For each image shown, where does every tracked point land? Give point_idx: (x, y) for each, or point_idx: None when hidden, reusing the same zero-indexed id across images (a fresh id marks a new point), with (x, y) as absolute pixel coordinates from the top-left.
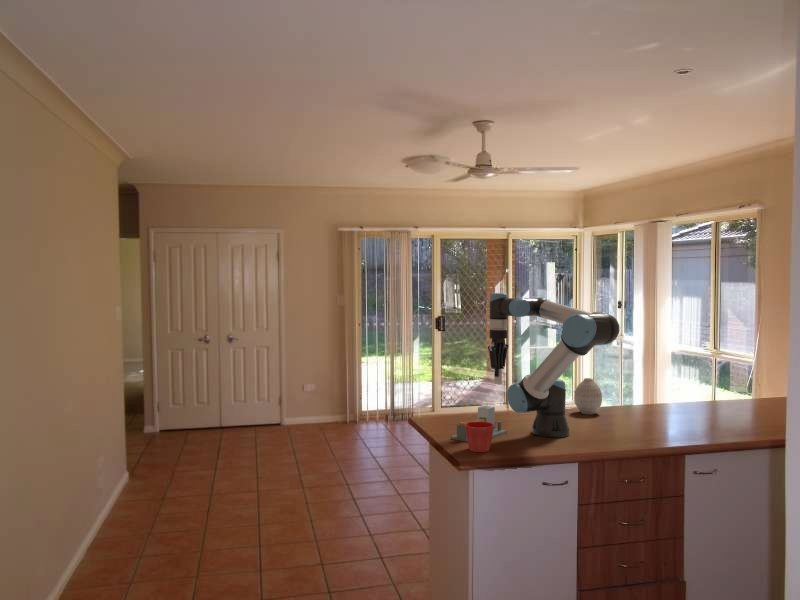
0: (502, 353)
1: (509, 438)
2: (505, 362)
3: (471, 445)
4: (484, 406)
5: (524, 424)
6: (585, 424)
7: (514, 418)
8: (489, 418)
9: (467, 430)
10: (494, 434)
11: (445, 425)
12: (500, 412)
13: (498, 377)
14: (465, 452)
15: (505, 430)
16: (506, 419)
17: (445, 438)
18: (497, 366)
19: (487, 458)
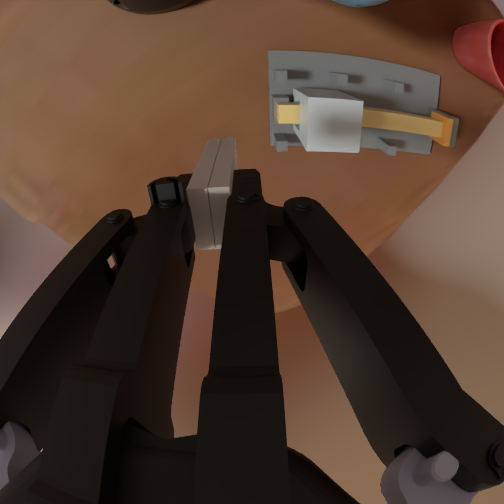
0: (102, 358)
1: (326, 13)
2: (81, 240)
3: (497, 64)
4: (328, 139)
5: (114, 91)
6: (8, 14)
7: (81, 167)
8: (338, 93)
9: None
10: (346, 57)
11: None
12: (71, 237)
13: (234, 167)
14: None
15: (269, 55)
16: (108, 173)
17: (429, 163)
18: (264, 216)
19: None
